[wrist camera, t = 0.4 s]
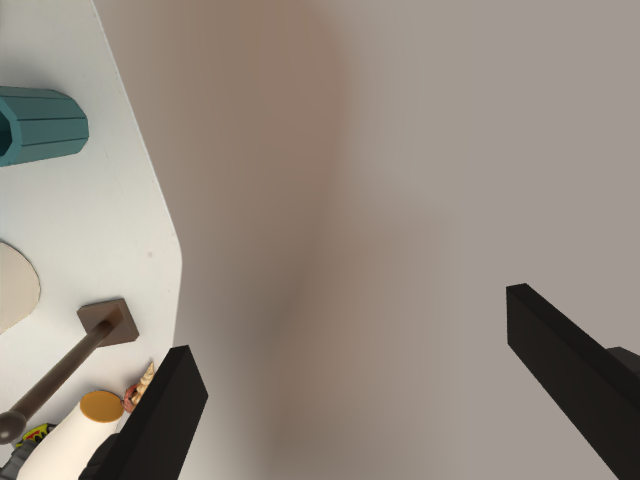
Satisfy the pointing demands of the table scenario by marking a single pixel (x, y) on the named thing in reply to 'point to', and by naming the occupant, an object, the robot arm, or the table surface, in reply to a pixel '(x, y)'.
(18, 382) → the table surface
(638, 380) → the robot arm
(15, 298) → the can
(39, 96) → the slatted pencil holder
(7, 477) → the flashlight
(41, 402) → the brown piece
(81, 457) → the cup
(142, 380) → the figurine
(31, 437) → the knife
